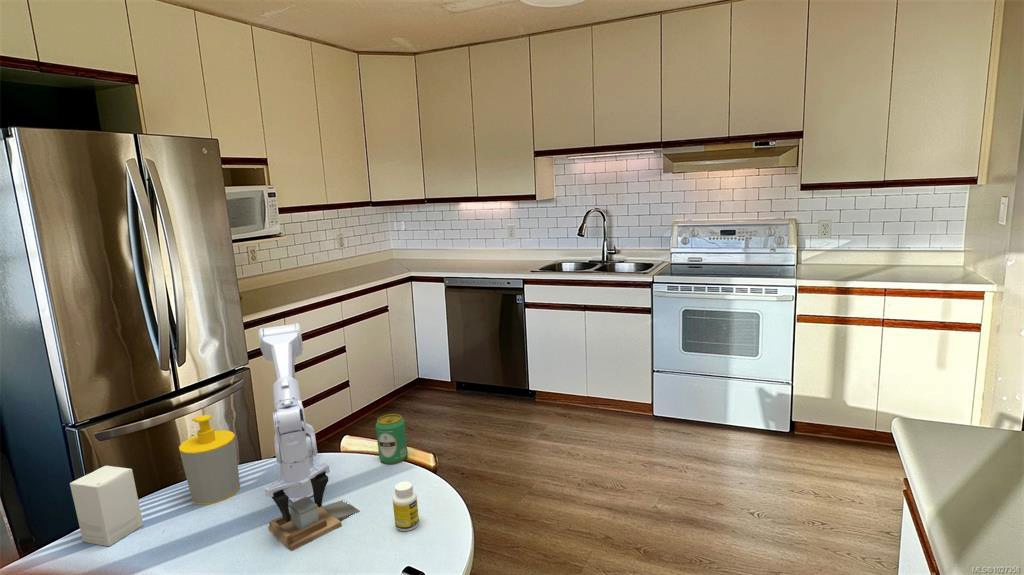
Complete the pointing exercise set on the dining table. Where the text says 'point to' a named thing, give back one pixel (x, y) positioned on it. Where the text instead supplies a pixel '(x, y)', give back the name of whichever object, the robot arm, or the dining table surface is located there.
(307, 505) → the grey lidded box
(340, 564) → the dining table surface
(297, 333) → the robot arm
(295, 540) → the dock
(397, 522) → the supplement bottle
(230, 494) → the soap bottle
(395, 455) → the beverage can
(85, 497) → the supplement box
